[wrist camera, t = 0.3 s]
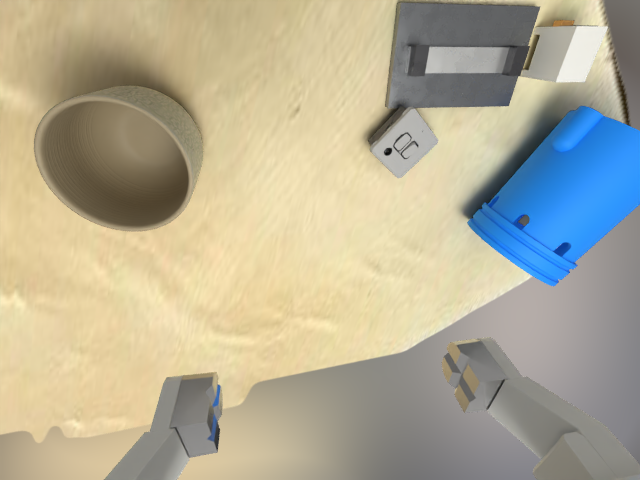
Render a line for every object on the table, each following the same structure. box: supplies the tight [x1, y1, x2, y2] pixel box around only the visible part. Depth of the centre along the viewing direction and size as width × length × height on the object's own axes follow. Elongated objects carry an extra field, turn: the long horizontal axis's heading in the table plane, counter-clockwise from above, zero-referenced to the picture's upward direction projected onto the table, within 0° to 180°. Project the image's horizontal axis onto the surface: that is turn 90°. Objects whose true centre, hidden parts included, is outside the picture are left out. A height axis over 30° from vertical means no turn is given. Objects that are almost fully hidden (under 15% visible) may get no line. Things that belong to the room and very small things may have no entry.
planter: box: [34, 85, 203, 231], centre depth 44 cm, size 17×17×15 cm
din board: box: [385, 3, 540, 108], centre depth 49 cm, size 14×22×4 cm, turn 89°
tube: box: [467, 106, 640, 286], centre depth 58 cm, size 25×22×19 cm
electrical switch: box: [368, 106, 438, 178], centre depth 54 cm, size 9×5×9 cm
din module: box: [520, 20, 608, 82], centre depth 49 cm, size 8×5×8 cm, turn 179°
